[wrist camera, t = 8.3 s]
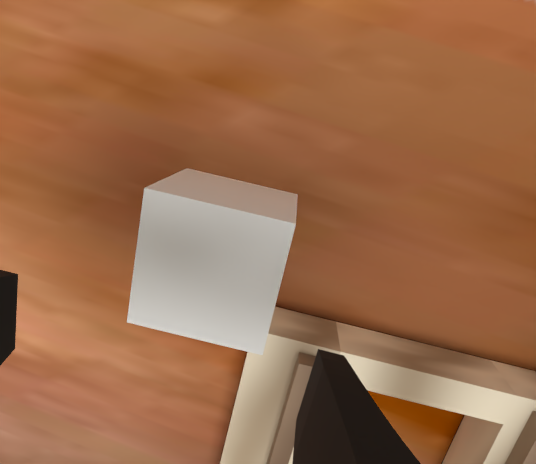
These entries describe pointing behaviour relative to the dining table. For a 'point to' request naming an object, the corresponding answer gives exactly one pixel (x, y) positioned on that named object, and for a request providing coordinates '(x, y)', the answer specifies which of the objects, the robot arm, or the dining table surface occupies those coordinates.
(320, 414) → the robot arm
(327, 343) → the sliding lid box
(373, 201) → the dining table surface
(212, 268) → the grey block
